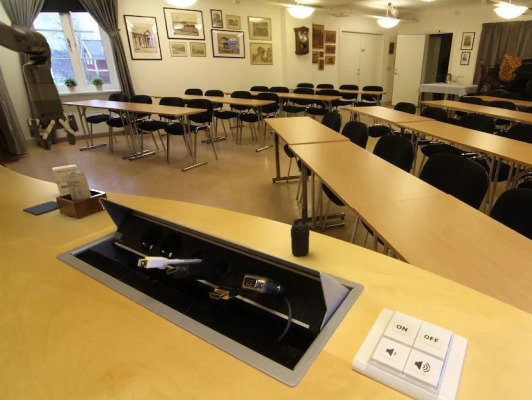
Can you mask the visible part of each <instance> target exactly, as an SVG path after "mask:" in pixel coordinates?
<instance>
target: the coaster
mask: <svg viewBox="0 0 532 400" xmlns="http://www.w3.org/2000/svg"><path fill="white" fill-rule="evenodd" d="M56 210H59V207H58V204H57V201H56V200H55V201H54V200H50V201H46V202H44V203H40V204H36V205H33V206H29V207H26V208H23V209H22V211H23V212H27V213H29V214H32V215H34V216H40V215H43V214H46V213H49V212H53V211H56Z"/></svg>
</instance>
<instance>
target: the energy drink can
mask: <svg viewBox="0 0 532 400" xmlns="http://www.w3.org/2000/svg"><path fill="white" fill-rule="evenodd" d="M66 174H67V176H66V181H67V184H68V188H69V191H70V194H71V197H72V201H73V202H76V201H79V200H82V199H86V198H89V197H91V193H90V189H91V188H90V186H89V183H88V182H89V181H88V180H87V175H86V174H85V173H84V172H83V170H79V171H71V172H68V173H66Z"/></svg>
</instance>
